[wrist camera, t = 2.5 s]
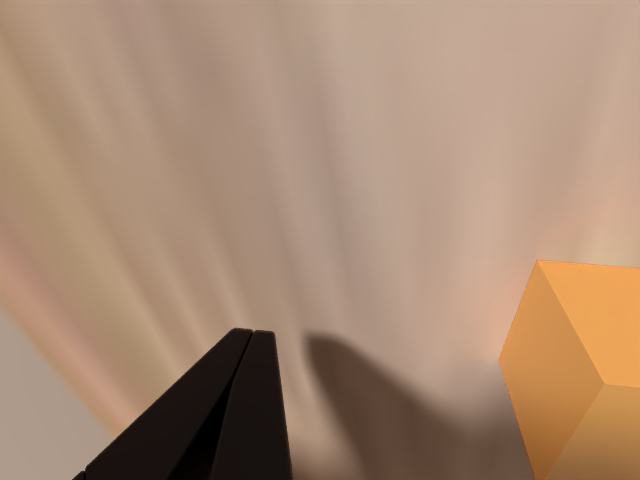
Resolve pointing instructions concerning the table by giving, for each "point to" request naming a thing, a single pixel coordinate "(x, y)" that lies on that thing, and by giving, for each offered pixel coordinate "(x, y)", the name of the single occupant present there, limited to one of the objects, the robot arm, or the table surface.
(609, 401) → the plug
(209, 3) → the table surface
